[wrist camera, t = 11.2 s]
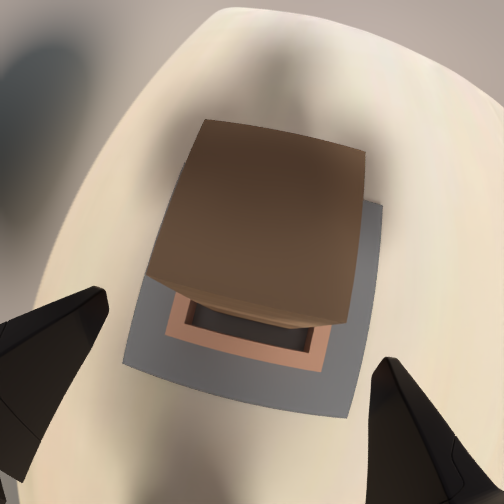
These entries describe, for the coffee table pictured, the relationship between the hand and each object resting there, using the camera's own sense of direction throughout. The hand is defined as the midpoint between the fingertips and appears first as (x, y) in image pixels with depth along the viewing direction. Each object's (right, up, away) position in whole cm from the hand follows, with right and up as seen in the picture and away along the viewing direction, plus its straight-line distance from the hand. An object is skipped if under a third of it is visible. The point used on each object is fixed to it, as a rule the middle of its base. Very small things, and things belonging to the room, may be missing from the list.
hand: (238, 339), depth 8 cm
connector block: (+1, 0, +11) cm, 11 cm away
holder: (+1, 0, +11) cm, 11 cm away
